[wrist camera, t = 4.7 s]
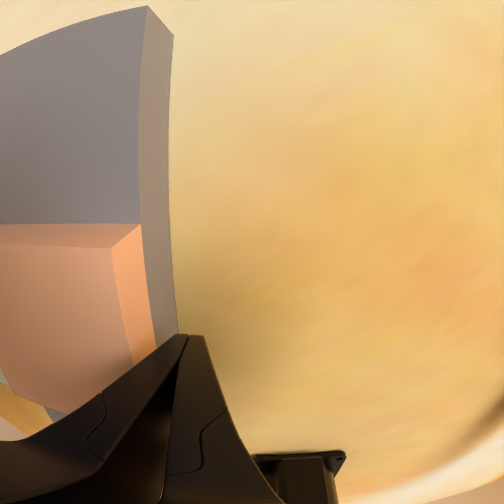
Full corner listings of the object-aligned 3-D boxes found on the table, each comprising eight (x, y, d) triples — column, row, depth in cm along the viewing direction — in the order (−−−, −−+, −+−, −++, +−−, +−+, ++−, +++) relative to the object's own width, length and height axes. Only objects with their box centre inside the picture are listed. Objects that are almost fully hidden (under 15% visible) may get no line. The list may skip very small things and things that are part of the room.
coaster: (166, 396, 11) (155, 435, 9) (33, 367, 11) (14, 393, 9) (140, 223, 8) (110, 248, 6) (-11, 225, 8) (-45, 242, 6)
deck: (193, 428, 16) (186, 467, 13) (80, 406, 16) (64, 438, 13) (173, 35, 9) (147, 5, 6) (17, 74, 8) (-26, 70, 6)
